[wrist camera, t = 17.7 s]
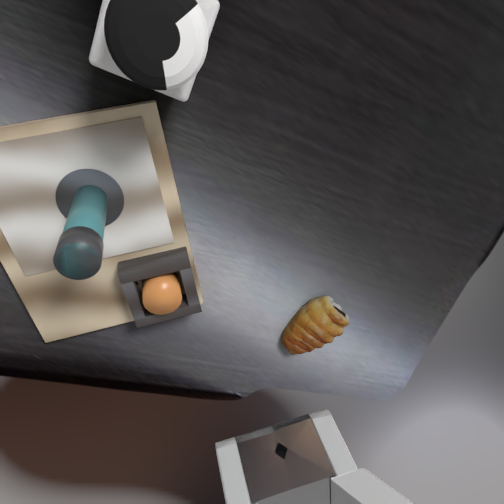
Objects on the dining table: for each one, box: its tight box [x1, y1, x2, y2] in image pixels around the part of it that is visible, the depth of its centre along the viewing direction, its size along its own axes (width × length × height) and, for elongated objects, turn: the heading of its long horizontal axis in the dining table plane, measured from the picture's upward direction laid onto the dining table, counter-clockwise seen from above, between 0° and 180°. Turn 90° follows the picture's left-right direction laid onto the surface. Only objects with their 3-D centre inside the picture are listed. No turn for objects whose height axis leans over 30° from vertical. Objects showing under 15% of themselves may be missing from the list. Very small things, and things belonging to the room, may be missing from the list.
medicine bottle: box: [89, 0, 220, 102], centre depth 28 cm, size 7×7×12 cm
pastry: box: [282, 296, 349, 354], centre depth 54 cm, size 9×7×4 cm
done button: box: [142, 272, 182, 315], centre depth 43 cm, size 4×4×3 cm
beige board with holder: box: [0, 100, 203, 343], centre depth 40 cm, size 23×18×4 cm
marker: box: [53, 185, 108, 280], centre depth 33 cm, size 3×3×11 cm
